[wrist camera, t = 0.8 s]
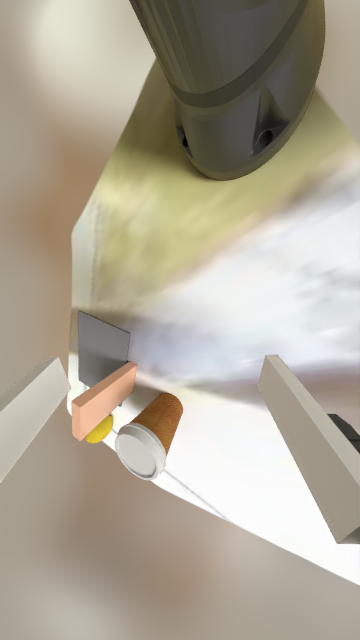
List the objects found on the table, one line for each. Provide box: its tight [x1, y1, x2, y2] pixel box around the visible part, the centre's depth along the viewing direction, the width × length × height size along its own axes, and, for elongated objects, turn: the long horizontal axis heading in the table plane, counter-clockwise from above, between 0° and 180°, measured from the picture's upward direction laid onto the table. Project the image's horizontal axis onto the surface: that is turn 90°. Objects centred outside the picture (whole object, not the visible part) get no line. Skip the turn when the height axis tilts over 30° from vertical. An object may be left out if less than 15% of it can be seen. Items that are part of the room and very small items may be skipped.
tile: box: [72, 361, 137, 441], centre depth 34 cm, size 8×2×14 cm, turn 167°
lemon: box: [85, 415, 113, 443], centre depth 44 cm, size 6×6×8 cm
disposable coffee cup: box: [115, 393, 183, 480], centre depth 32 cm, size 10×10×12 cm
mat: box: [78, 311, 130, 407], centre depth 43 cm, size 22×16×1 cm
